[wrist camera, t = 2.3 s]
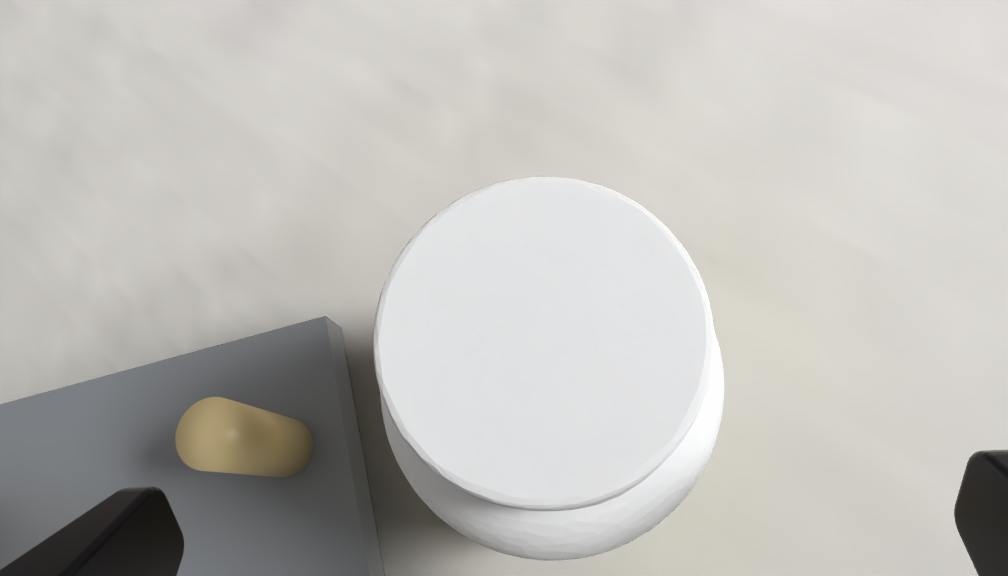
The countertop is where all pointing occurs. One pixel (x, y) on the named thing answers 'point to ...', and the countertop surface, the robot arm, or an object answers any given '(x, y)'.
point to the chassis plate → (207, 456)
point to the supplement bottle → (548, 368)
